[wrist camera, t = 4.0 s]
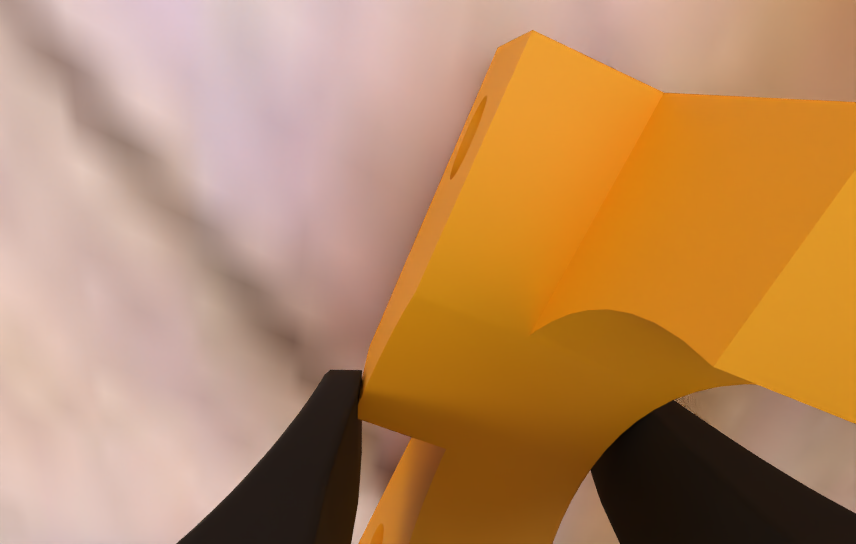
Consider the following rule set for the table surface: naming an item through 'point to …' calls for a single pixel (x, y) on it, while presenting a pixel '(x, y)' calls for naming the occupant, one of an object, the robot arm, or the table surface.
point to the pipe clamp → (603, 285)
